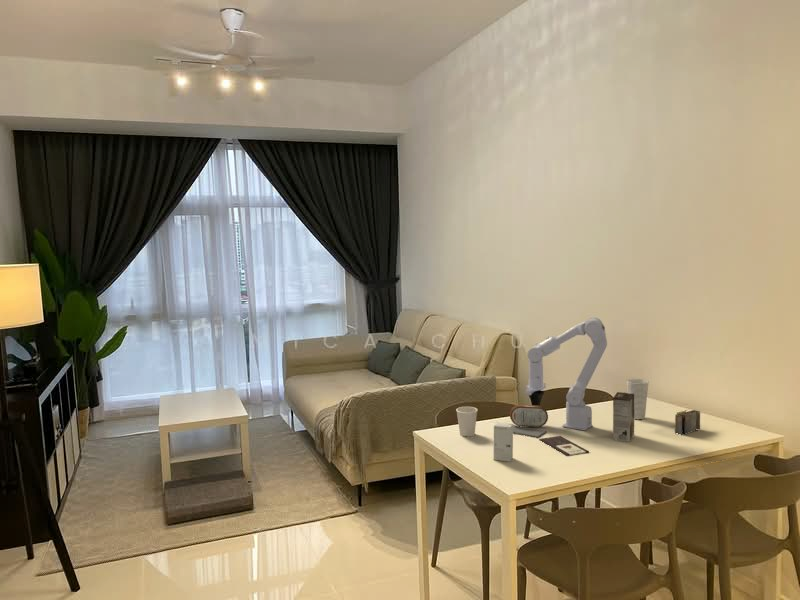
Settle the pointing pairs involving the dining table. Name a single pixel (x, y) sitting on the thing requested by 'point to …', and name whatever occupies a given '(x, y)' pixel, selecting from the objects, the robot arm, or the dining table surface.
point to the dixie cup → (467, 420)
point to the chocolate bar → (564, 445)
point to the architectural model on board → (687, 421)
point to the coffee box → (623, 416)
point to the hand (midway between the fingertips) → (536, 408)
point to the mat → (527, 431)
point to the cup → (638, 396)
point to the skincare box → (503, 441)
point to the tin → (529, 415)
